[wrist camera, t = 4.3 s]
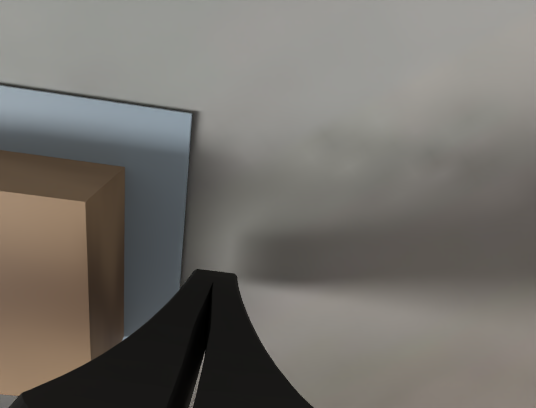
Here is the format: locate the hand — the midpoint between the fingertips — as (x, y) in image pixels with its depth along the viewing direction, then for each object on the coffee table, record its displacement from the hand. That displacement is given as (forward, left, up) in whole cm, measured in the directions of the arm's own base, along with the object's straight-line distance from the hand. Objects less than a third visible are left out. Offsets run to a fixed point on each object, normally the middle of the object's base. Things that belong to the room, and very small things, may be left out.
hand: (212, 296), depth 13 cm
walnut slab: (0, +7, -2) cm, 7 cm away
